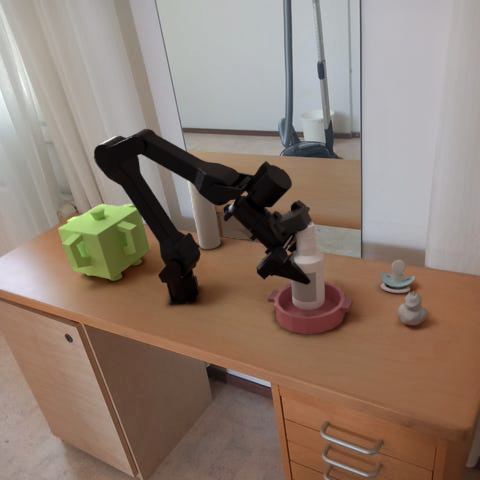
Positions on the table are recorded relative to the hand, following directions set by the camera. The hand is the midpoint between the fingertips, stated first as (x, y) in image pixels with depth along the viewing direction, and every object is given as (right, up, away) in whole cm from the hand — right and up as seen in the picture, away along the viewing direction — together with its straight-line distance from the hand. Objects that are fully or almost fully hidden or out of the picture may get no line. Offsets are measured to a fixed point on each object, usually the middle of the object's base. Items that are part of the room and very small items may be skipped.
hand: (314, 274), depth 100 cm
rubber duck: (+20, -10, 0) cm, 22 cm away
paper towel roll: (-23, +12, +40) cm, 48 cm away
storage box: (-50, +5, +36) cm, 61 cm away
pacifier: (+20, -2, +10) cm, 23 cm away
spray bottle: (0, -6, +5) cm, 7 cm away
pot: (0, -8, +6) cm, 10 cm away
